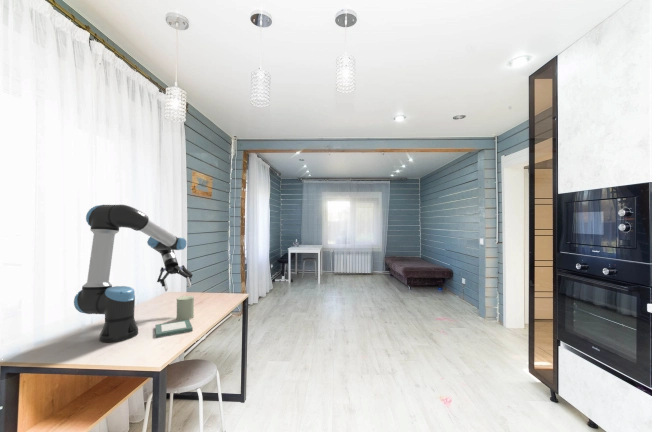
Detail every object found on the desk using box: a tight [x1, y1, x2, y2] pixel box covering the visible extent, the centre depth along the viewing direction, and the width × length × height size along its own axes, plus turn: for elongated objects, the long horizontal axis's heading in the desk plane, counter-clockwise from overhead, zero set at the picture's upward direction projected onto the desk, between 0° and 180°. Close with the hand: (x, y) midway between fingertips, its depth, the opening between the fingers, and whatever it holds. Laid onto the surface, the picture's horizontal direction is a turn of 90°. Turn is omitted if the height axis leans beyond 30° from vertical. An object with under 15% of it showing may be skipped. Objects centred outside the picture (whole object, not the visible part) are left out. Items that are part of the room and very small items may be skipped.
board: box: [154, 319, 193, 338], centre depth 148 cm, size 16×16×2 cm
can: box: [176, 295, 195, 321], centre depth 167 cm, size 9×9×12 cm
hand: (178, 288), depth 175 cm, fingers open, 13 cm apart
